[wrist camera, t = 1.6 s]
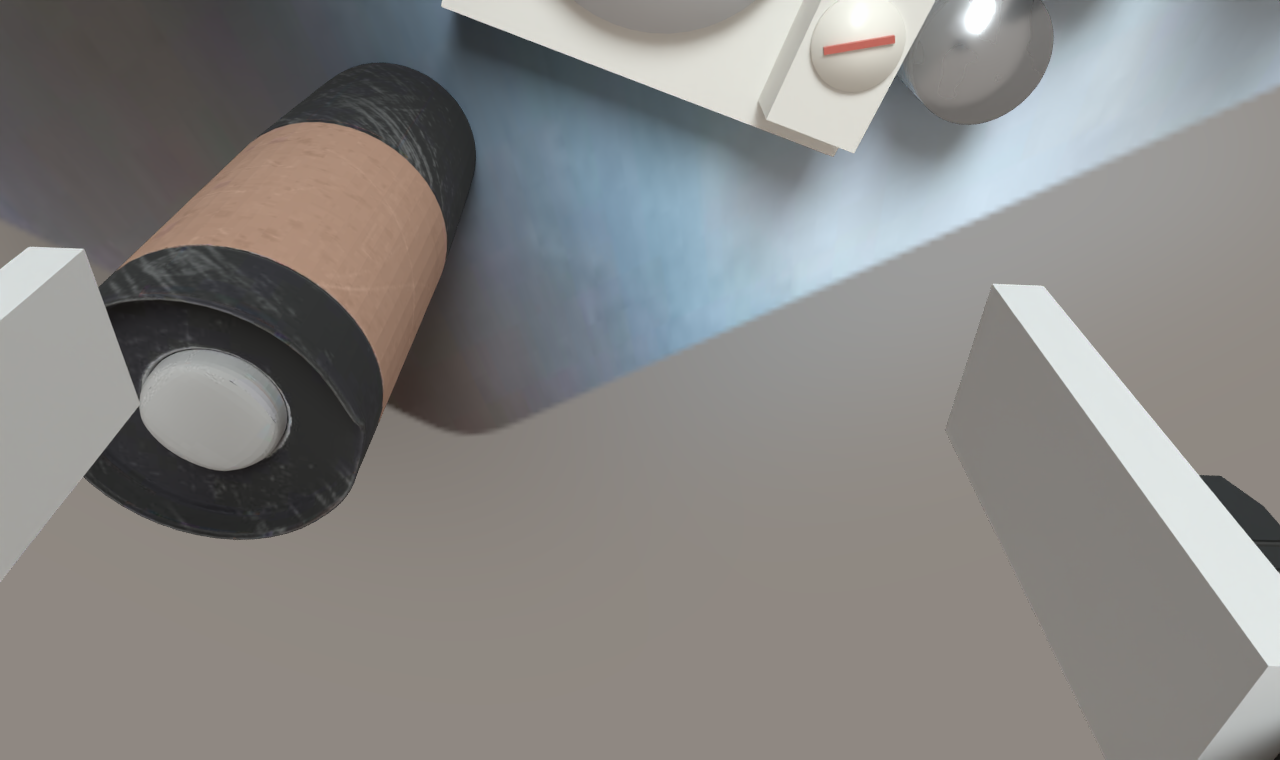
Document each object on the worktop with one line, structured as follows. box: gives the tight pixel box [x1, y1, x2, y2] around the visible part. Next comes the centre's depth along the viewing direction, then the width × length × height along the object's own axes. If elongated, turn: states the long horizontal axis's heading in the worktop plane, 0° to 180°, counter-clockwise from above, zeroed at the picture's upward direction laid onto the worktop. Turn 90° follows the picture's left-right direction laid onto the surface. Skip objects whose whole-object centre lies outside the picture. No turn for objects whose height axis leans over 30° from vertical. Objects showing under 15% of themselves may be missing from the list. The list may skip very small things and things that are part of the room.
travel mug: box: [83, 63, 476, 540], centre depth 29 cm, size 8×8×20 cm
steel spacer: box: [897, 0, 1053, 125], centre depth 33 cm, size 5×5×4 cm
